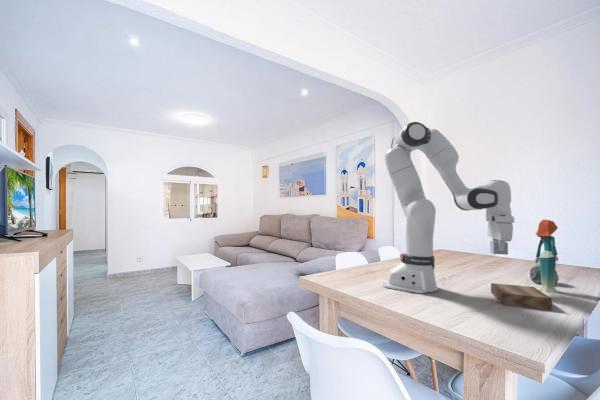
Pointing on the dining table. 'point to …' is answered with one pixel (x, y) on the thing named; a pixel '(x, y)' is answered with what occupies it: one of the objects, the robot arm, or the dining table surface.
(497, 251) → the slate block
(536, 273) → the stone
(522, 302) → the walnut pedestal
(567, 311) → the dining table surface
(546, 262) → the sculpture
